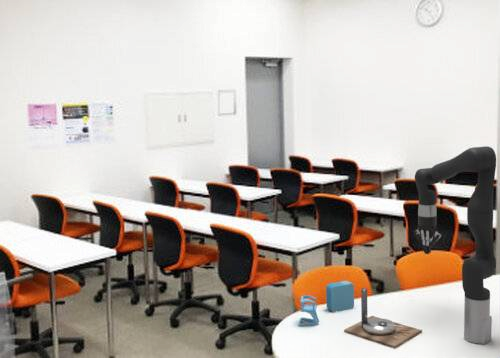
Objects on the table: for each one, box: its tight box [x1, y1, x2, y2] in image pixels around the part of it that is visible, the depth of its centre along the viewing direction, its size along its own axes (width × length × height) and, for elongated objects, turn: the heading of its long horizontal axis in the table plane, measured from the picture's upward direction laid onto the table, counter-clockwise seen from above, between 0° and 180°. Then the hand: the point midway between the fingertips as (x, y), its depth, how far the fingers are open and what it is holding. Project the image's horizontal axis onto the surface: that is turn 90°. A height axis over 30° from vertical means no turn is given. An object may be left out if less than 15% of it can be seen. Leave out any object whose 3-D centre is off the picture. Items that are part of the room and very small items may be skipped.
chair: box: [298, 294, 320, 327], centre depth 249 cm, size 8×8×12 cm
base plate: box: [343, 315, 423, 349], centre depth 238 cm, size 24×20×1 cm
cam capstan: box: [360, 287, 403, 335], centre depth 236 cm, size 17×13×16 cm
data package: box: [325, 280, 355, 313], centre depth 264 cm, size 12×4×12 cm, turn 112°
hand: (427, 253), depth 252 cm, fingers closed
